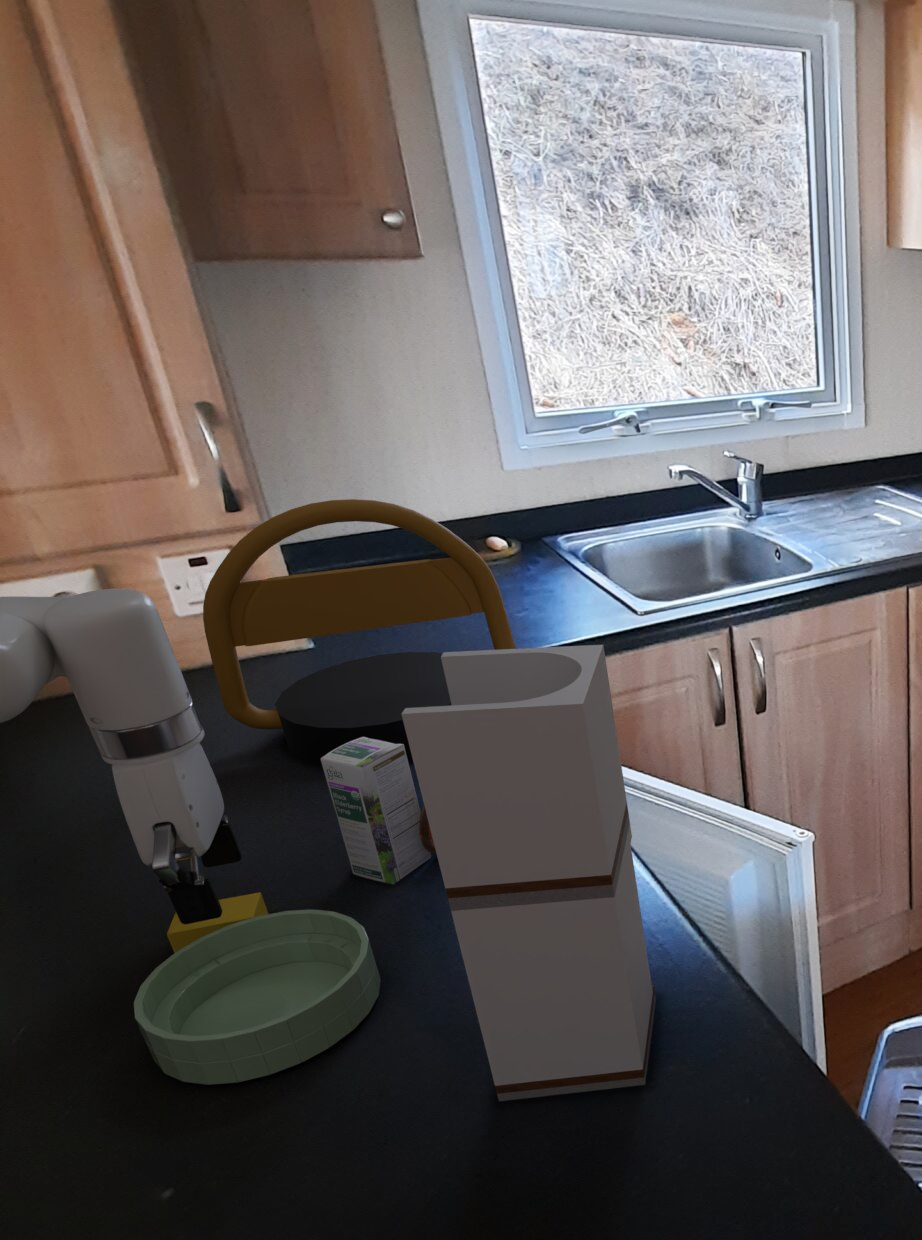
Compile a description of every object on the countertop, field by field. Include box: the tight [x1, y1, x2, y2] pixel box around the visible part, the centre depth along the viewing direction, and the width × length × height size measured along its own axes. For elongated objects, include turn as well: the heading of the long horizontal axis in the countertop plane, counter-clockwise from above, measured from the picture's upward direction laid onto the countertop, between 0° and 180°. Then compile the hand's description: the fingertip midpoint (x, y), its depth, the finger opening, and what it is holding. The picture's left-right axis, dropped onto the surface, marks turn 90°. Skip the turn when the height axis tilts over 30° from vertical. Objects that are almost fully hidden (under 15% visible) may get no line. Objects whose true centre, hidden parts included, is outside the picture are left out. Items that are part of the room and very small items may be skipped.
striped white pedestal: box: [402, 644, 657, 1102], centre depth 82 cm, size 11×11×35 cm
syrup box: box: [321, 737, 432, 885], centre depth 111 cm, size 6×6×14 cm
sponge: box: [166, 891, 269, 954], centre depth 101 cm, size 7×4×4 cm, turn 112°
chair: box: [202, 498, 517, 768], centre depth 136 cm, size 25×35×32 cm
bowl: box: [133, 908, 382, 1086], centre depth 92 cm, size 17×17×6 cm
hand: (213, 890), depth 100 cm, fingers open, 9 cm apart
